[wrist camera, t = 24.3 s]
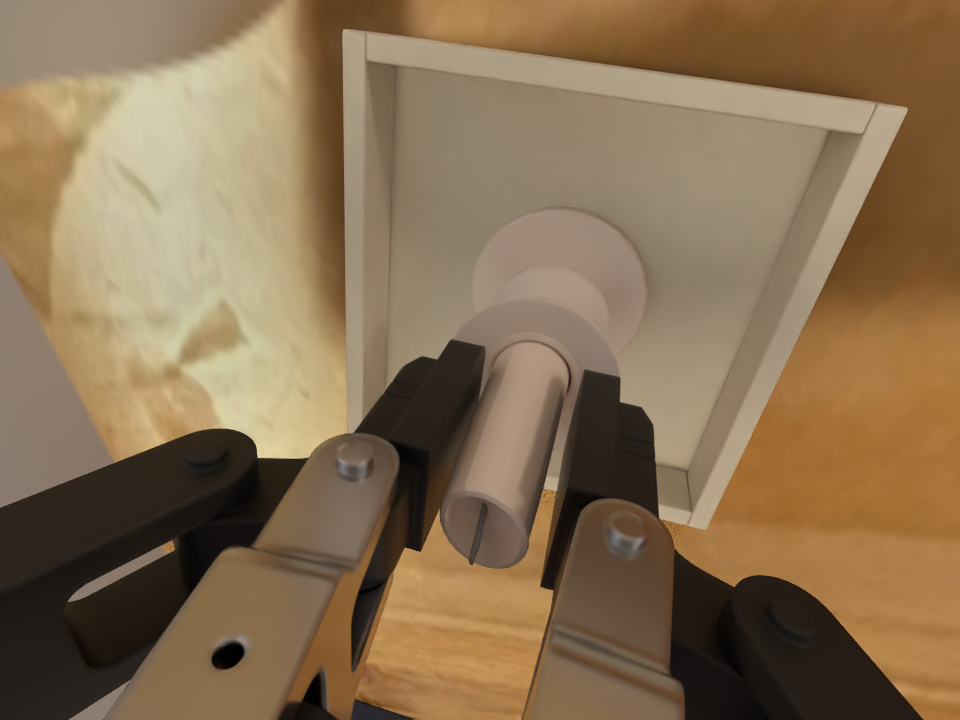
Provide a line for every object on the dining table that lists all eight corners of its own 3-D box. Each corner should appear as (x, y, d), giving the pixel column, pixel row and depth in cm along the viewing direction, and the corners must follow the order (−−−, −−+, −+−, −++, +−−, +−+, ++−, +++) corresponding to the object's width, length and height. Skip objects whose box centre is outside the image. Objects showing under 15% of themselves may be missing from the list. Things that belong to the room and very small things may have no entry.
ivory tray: (376, 397, 21) (346, 437, 19) (385, 33, 15) (341, 28, 12) (697, 477, 19) (706, 531, 17) (862, 99, 13) (910, 108, 11)
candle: (453, 325, 18) (278, 586, 9) (512, 175, 15) (343, 337, 6) (596, 391, 18) (562, 721, 9) (683, 252, 15) (759, 530, 6)
